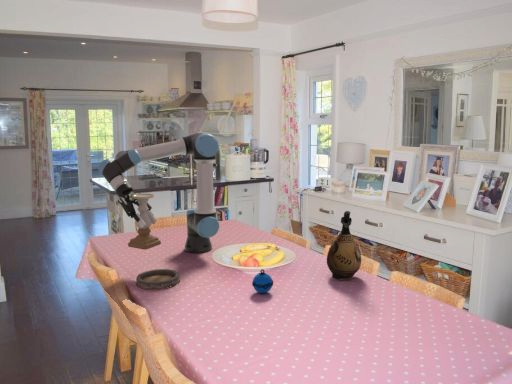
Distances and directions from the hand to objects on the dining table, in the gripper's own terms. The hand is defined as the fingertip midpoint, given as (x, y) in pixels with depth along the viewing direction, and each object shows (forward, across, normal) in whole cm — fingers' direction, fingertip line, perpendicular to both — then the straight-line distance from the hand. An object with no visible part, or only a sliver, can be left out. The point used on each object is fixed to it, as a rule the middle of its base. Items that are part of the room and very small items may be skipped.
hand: (149, 224), depth 216 cm
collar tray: (+24, +6, -10) cm, 27 cm away
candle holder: (+5, 0, -10) cm, 11 cm away
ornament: (+57, -3, +24) cm, 62 cm away
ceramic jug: (+74, -37, +41) cm, 92 cm away
